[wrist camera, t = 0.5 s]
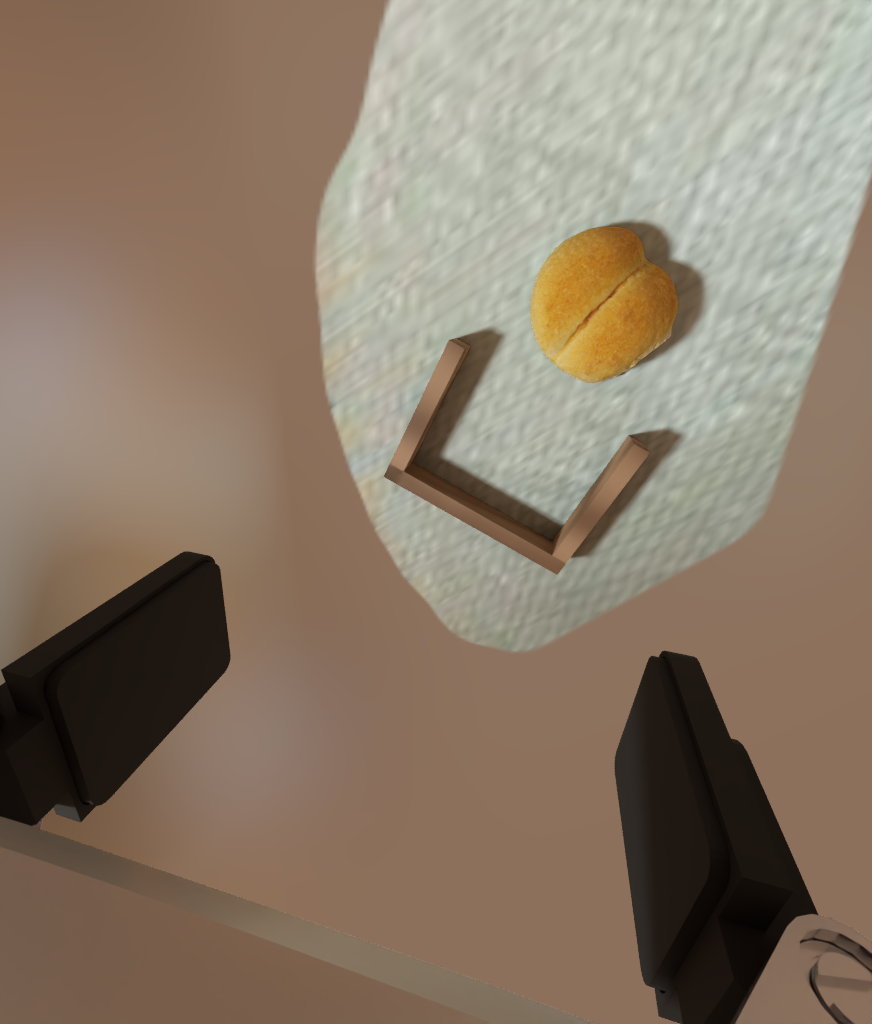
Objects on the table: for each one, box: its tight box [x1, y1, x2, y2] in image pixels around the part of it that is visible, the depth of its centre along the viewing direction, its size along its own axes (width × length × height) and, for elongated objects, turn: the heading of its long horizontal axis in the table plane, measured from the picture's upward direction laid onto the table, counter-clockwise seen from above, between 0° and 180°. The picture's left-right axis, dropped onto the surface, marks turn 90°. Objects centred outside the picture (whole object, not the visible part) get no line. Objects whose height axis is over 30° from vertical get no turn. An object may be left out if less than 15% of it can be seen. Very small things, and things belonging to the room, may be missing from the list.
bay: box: [384, 338, 650, 574], centre depth 35 cm, size 11×15×2 cm
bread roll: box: [530, 227, 678, 383], centre depth 30 cm, size 8×9×4 cm
